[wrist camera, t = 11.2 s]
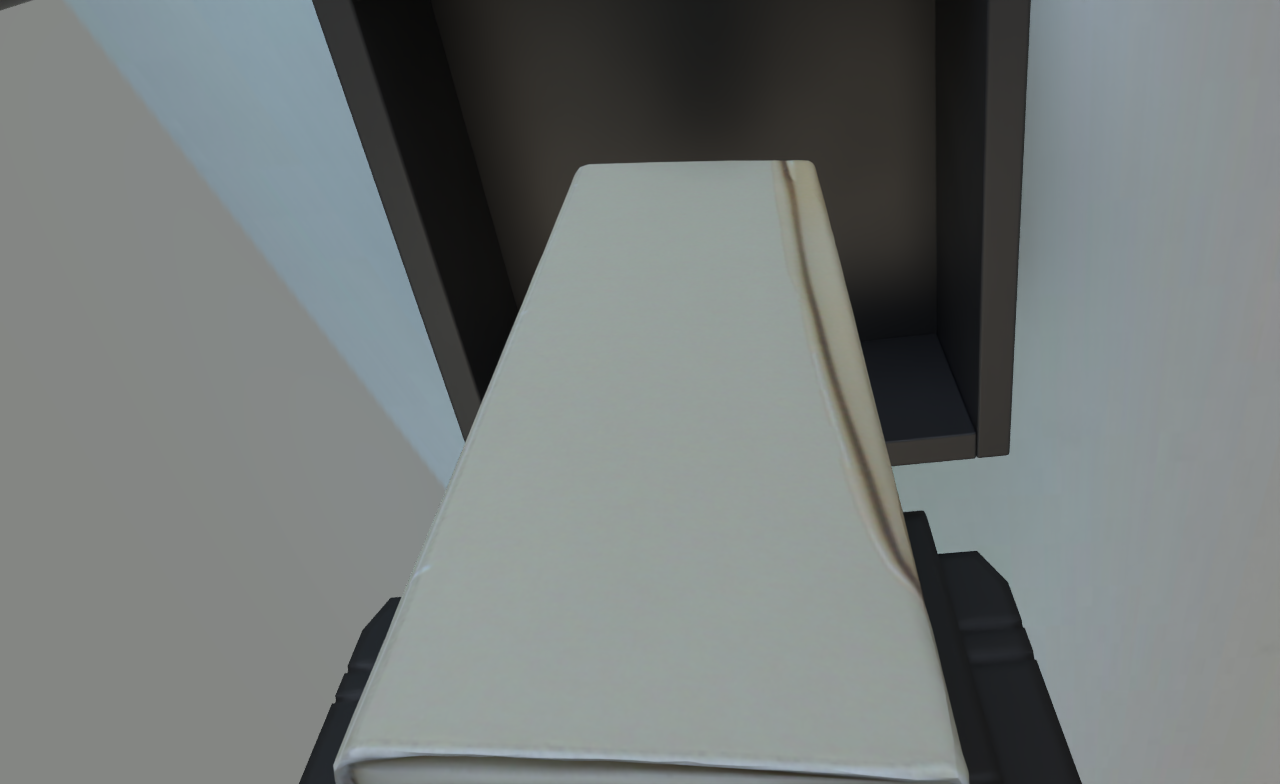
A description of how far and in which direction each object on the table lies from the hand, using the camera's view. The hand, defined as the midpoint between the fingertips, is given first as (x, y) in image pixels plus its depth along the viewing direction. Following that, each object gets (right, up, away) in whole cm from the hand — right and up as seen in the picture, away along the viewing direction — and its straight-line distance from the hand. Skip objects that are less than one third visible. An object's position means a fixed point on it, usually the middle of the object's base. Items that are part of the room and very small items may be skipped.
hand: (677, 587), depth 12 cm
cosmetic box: (+1, +4, +6) cm, 8 cm away
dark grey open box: (+1, +9, +13) cm, 16 cm away
